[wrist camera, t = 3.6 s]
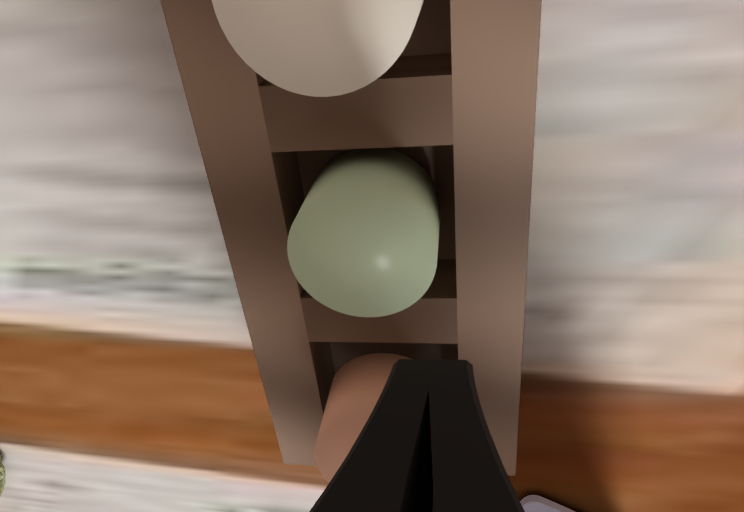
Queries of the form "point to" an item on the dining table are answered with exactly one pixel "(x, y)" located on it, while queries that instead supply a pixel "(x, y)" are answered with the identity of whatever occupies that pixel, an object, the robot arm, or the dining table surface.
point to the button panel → (405, 135)
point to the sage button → (367, 233)
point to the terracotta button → (350, 407)
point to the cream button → (318, 40)
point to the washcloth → (2, 476)
